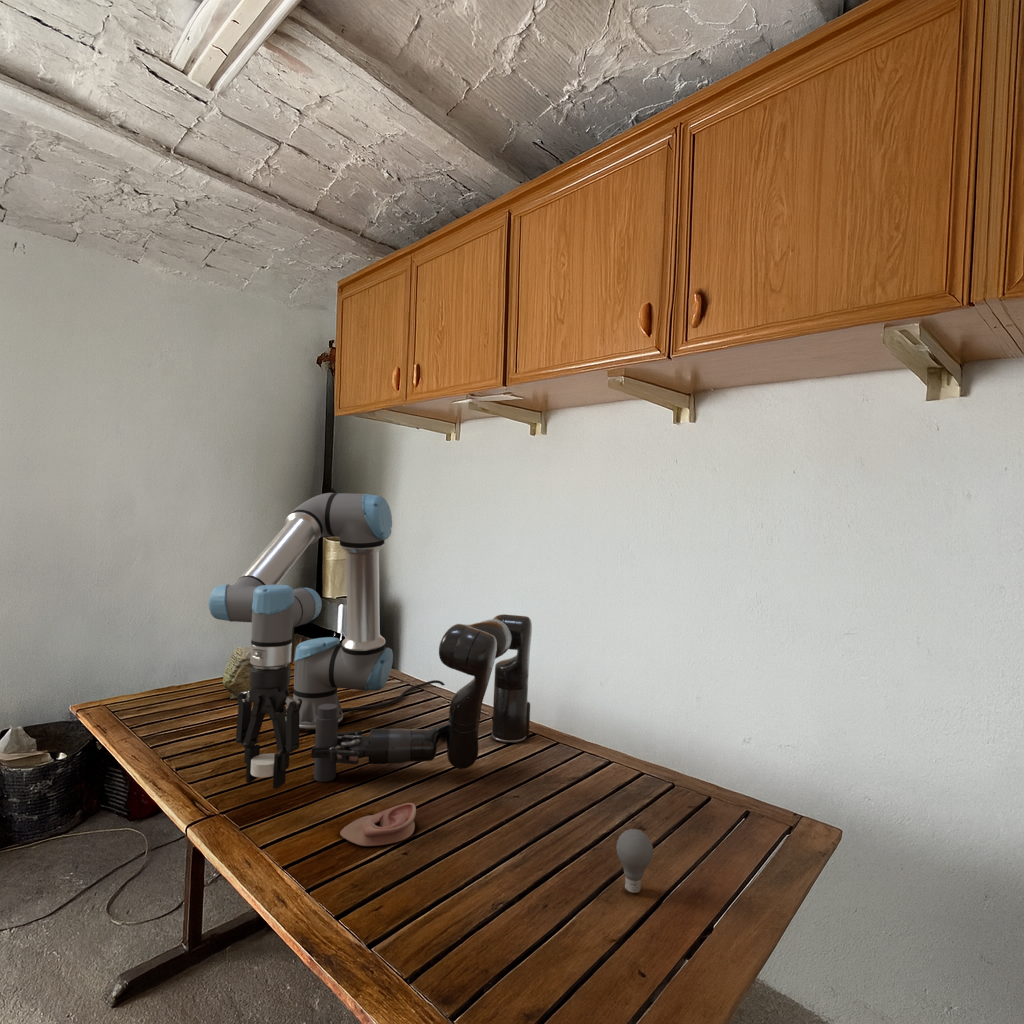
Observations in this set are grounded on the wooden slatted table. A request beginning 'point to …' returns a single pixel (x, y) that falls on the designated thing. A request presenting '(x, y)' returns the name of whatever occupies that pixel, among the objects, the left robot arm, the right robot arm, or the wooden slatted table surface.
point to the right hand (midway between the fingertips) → (313, 747)
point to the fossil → (238, 672)
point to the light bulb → (634, 857)
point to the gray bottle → (326, 741)
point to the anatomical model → (382, 826)
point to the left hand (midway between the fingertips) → (265, 782)
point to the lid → (262, 765)
